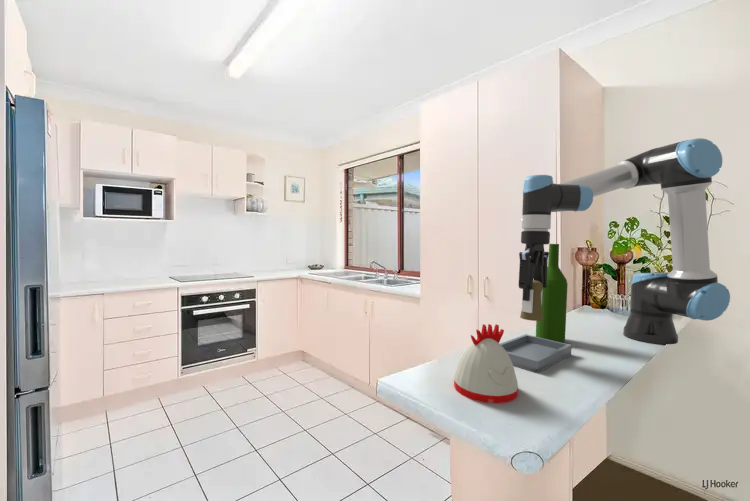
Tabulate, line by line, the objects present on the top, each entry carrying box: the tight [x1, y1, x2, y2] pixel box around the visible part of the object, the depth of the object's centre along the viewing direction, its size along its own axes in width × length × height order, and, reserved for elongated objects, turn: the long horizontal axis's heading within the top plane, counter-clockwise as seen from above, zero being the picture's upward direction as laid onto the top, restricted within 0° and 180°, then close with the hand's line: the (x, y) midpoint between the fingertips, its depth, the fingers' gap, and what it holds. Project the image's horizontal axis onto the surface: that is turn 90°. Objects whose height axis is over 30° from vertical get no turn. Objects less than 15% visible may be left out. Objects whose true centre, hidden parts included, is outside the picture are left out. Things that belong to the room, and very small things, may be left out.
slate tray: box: [499, 334, 573, 374], centre depth 104 cm, size 22×14×3 cm, turn 131°
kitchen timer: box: [453, 323, 519, 404], centre depth 81 cm, size 14×14×15 cm
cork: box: [520, 279, 543, 322], centre depth 103 cm, size 6×6×11 cm
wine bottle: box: [535, 243, 568, 343], centre depth 120 cm, size 9×9×32 cm
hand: (531, 310), depth 103 cm, fingers closed on cork, 5 cm apart
